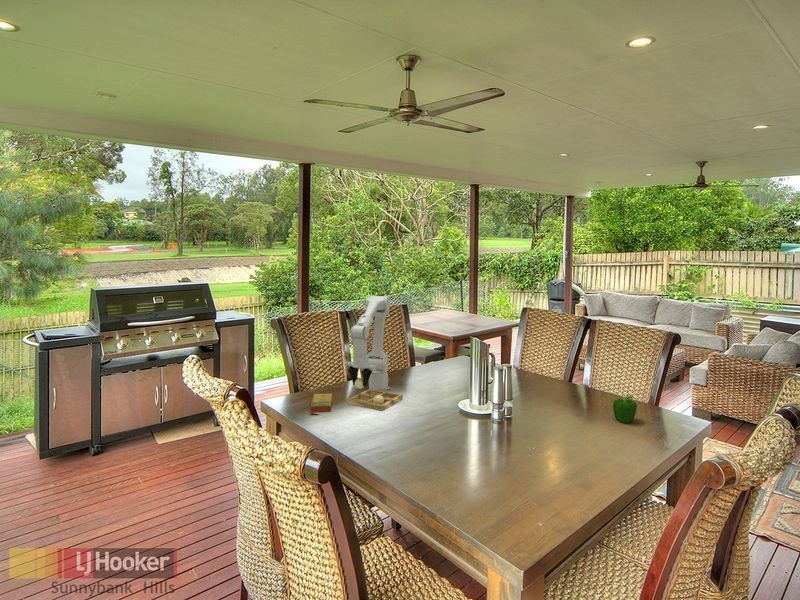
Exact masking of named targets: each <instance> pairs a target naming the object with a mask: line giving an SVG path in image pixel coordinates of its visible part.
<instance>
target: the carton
mask: <svg viewBox="0 0 800 600" xmlns="http://www.w3.org/2000/svg"><path fill="white" fill-rule="evenodd" d="M332 404H333V393H313V394H312V399H311V403H310V410H309V411H310V413H309V414H310V415H309V416H320V414H318V413H329V412H330V413H331V412H332Z"/></svg>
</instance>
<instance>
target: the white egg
mask: <svg viewBox="0 0 800 600" xmlns="http://www.w3.org/2000/svg"><path fill="white" fill-rule="evenodd" d="M354 386H355V388H356V389H361V390H362V389H364V388H365V387H363V377H358V379H356V381H355V385H354Z"/></svg>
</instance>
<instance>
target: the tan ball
mask: <svg viewBox="0 0 800 600" xmlns="http://www.w3.org/2000/svg"><path fill="white" fill-rule="evenodd" d="M373 403H374V404H378V405H383V403H384V398H383V397H382V396H381V395H376V396H375V397H374V398H373Z"/></svg>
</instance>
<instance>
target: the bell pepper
mask: <svg viewBox="0 0 800 600" xmlns="http://www.w3.org/2000/svg"><path fill="white" fill-rule="evenodd" d="M633 398H634V397H633V396H632V395H627V396H625V397H624V398H623V399H622V398H620V397H619V398H617V399H613V402H612V410H613V416H614V418H615V420H616V421H618V422H620V423H624V424H626V423H627V424H629V423H631V422H633V421H634V419H635V417H636V413H637V410H638V405H637V402H636V401H633V400H632V399H633Z"/></svg>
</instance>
